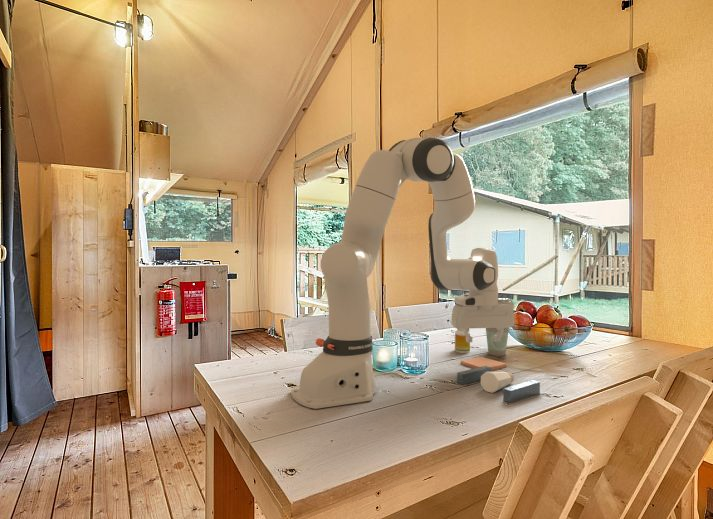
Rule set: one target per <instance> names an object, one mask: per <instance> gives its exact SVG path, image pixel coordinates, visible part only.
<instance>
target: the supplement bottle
mask: <svg viewBox="0 0 713 519" xmlns="http://www.w3.org/2000/svg"><path fill="white" fill-rule="evenodd" d="M470 333H471V332H470V331H469V332H468V334H469V336H471V334H470ZM454 351H455V352H456V353H459V354H468V352H469V353H470V352H471V342H466V336H465V334H464V332H463V329H457V328H456V330H455V331H454Z"/></svg>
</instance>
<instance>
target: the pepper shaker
mask: <svg viewBox="0 0 713 519" xmlns="http://www.w3.org/2000/svg"><path fill="white" fill-rule="evenodd" d="M514 381H515V376H514V374H513V373H511V372H508V371H507V372H505V371H491V372H485V373H484V374H483V375H482V376H481V381H480V386H481V387H482V388H483V389H484V392H488V393H491V394H493V393H496V392H497V391H499V390H501V389H503V388H506V387H507V386H508V385H509V384H511V383H513V382H514Z"/></svg>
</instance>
